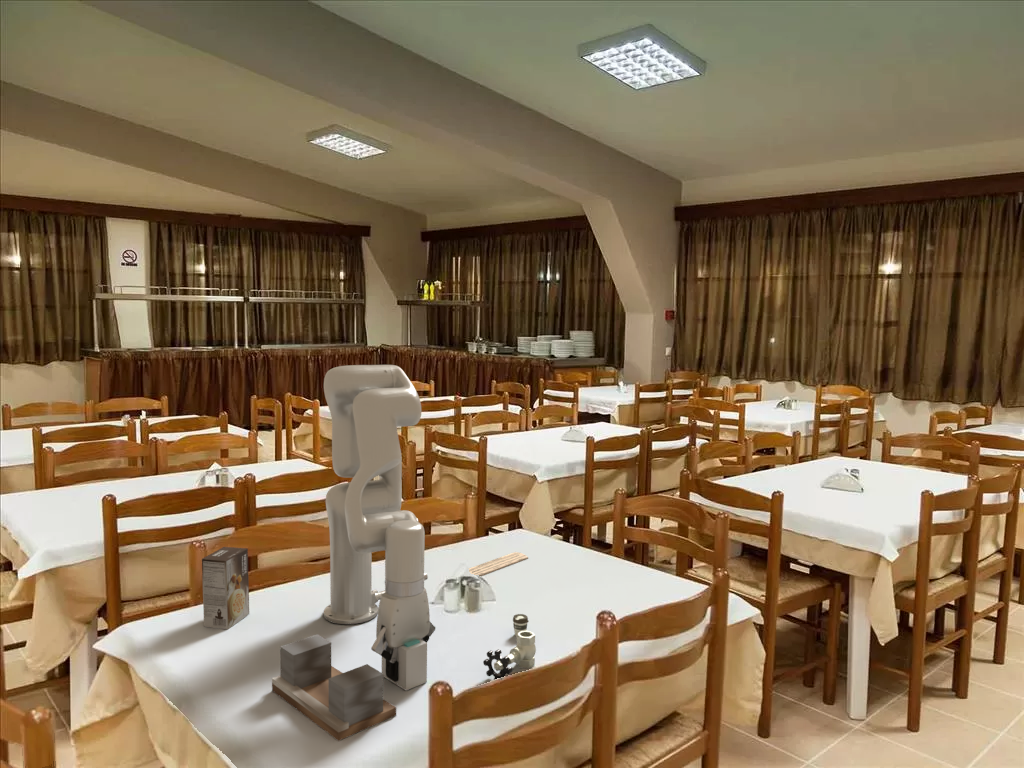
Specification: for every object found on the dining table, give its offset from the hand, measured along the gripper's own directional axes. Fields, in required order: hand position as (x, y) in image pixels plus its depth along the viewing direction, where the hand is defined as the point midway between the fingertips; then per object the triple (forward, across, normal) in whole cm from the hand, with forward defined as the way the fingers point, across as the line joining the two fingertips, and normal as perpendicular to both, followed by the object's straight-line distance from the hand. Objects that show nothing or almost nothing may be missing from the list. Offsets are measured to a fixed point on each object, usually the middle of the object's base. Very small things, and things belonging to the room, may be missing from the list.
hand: (404, 673), depth 153 cm
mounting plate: (+1, +15, -2) cm, 15 cm away
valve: (+2, -18, +12) cm, 22 cm away
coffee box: (+2, +13, -50) cm, 52 cm away
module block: (+1, 0, 0) cm, 1 cm away
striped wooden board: (+3, -58, -36) cm, 68 cm away
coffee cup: (+2, -31, +1) cm, 31 cm away
